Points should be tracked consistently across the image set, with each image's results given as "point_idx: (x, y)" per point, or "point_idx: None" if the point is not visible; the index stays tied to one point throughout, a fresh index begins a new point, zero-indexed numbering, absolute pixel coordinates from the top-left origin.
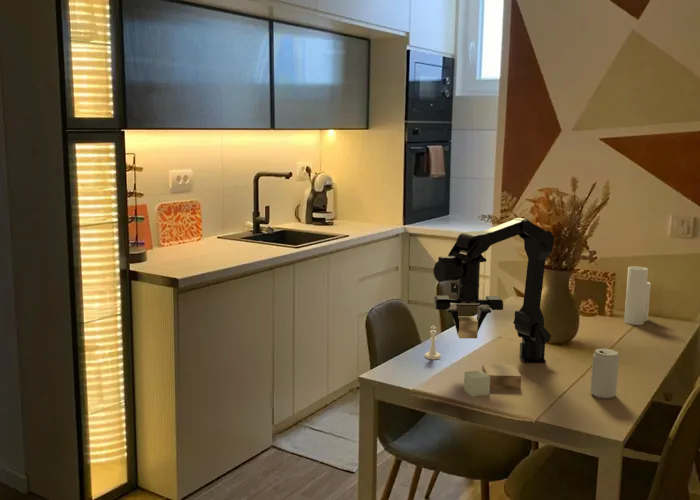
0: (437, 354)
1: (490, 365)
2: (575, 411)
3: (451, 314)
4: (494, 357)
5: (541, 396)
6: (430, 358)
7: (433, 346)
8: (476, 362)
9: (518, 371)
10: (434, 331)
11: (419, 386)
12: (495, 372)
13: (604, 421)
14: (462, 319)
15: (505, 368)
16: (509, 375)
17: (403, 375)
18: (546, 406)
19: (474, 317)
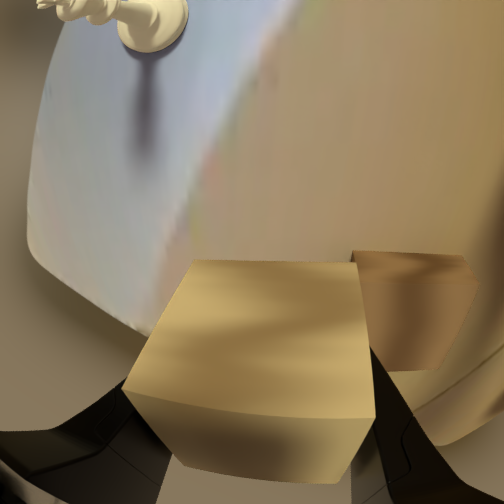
0: (165, 23)
1: (387, 295)
2: (458, 407)
3: (70, 420)
4: (451, 11)
5: (449, 368)
6: (142, 51)
7: (126, 20)
8: (364, 67)
9: (454, 340)
10: (73, 9)
11: (148, 318)
12: (376, 353)
13: (469, 421)
14: (199, 456)
15: (429, 320)
16: (408, 369)
17: (90, 243)
18: (426, 401)
19: (346, 443)
